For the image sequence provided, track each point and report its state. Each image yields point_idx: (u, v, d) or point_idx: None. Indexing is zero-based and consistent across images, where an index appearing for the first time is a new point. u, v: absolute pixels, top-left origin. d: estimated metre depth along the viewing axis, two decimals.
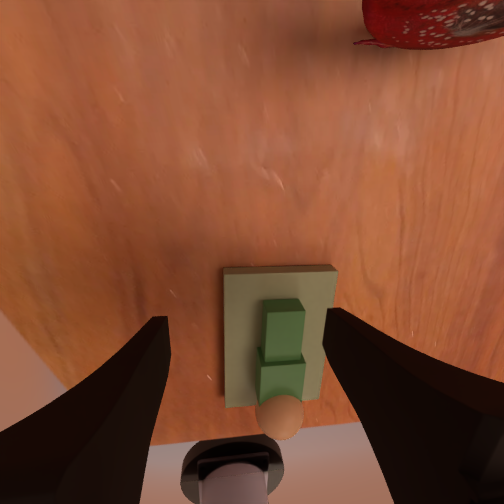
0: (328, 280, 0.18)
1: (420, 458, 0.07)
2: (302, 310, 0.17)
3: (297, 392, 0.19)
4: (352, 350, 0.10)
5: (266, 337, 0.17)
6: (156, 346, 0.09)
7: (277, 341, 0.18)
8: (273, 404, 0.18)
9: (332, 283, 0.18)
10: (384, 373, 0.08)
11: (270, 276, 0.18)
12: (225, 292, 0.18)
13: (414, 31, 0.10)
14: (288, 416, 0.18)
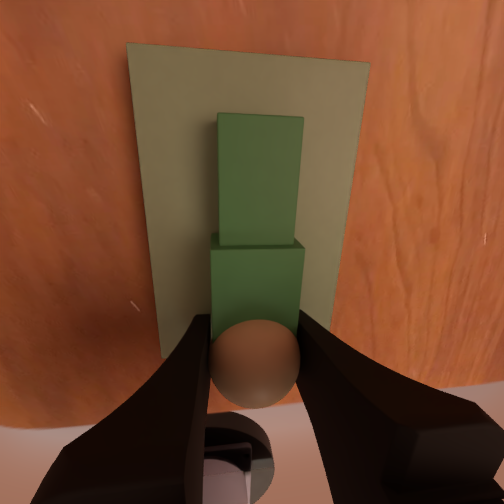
0: (350, 83, 0.09)
1: (353, 467, 0.06)
2: (297, 117, 0.08)
3: (288, 315, 0.10)
4: (305, 353, 0.10)
5: (219, 182, 0.08)
6: (207, 343, 0.09)
7: (245, 193, 0.08)
8: (238, 335, 0.09)
9: (358, 93, 0.09)
10: (328, 378, 0.08)
11: (229, 59, 0.08)
12: (134, 92, 0.08)
13: None
14: (268, 356, 0.09)
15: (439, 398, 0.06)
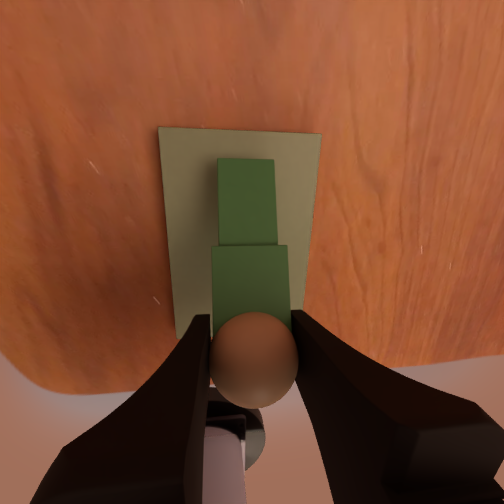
0: (308, 147, 0.13)
1: (354, 467, 0.06)
2: (269, 160, 0.12)
3: (281, 307, 0.11)
4: (306, 353, 0.10)
5: (219, 200, 0.11)
6: (206, 343, 0.09)
7: (237, 207, 0.11)
8: (236, 321, 0.10)
9: (314, 153, 0.13)
10: (328, 378, 0.08)
11: (225, 135, 0.13)
12: (162, 157, 0.13)
13: None
14: (264, 334, 0.09)
15: (439, 398, 0.06)
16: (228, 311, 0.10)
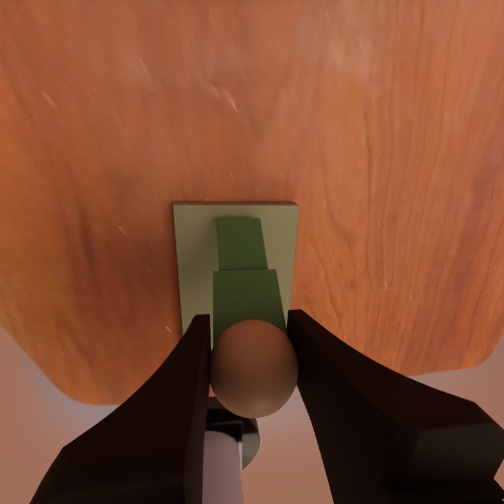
0: (288, 215, 0.17)
1: (354, 467, 0.06)
2: (256, 219, 0.16)
3: (275, 317, 0.12)
4: (306, 353, 0.10)
5: (219, 243, 0.14)
6: (207, 343, 0.09)
7: (233, 247, 0.14)
8: (235, 324, 0.11)
9: (293, 219, 0.17)
10: (328, 378, 0.08)
11: (224, 209, 0.16)
12: (176, 225, 0.16)
13: None
14: (260, 325, 0.10)
15: (439, 398, 0.06)
16: (227, 321, 0.11)
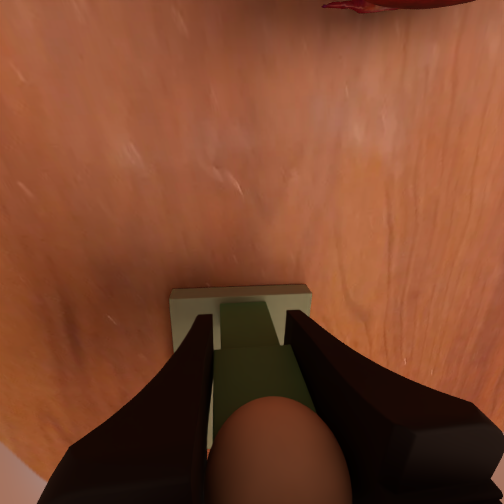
0: (300, 304, 0.15)
1: (351, 467, 0.06)
2: (262, 302, 0.15)
3: (299, 400, 0.08)
4: (304, 354, 0.10)
5: (221, 325, 0.13)
6: (210, 343, 0.09)
7: (238, 328, 0.12)
8: None
9: (305, 307, 0.15)
10: (326, 378, 0.08)
11: (227, 300, 0.14)
12: (172, 320, 0.14)
13: None
14: (279, 398, 0.07)
15: (436, 398, 0.06)
16: (233, 408, 0.08)
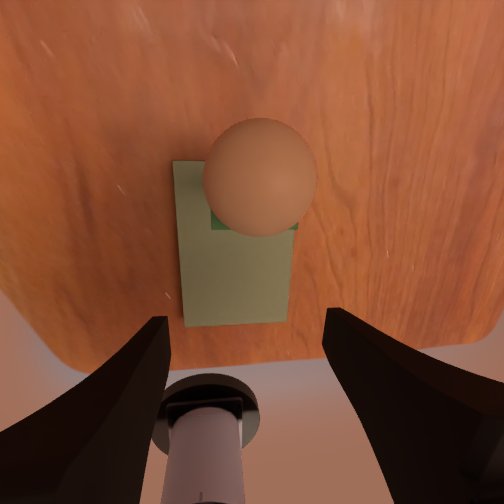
0: None
1: (420, 458, 0.07)
2: None
3: None
4: (352, 350, 0.10)
5: None
6: (156, 346, 0.09)
7: None
8: None
9: None
10: (384, 373, 0.08)
11: None
12: (175, 183, 0.16)
13: None
14: None
15: None
16: None
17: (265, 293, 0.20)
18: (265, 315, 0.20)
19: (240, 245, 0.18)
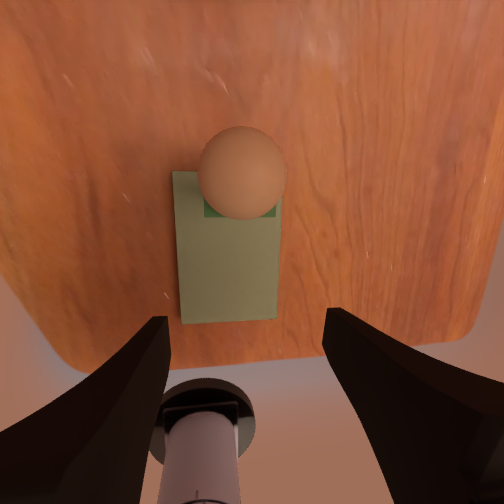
0: None
1: (420, 458, 0.07)
2: None
3: None
4: (352, 350, 0.10)
5: None
6: (156, 346, 0.09)
7: None
8: None
9: None
10: (384, 373, 0.08)
11: None
12: (174, 190, 0.18)
13: None
14: None
15: None
16: None
17: (256, 291, 0.21)
18: (256, 312, 0.22)
19: (232, 246, 0.20)
